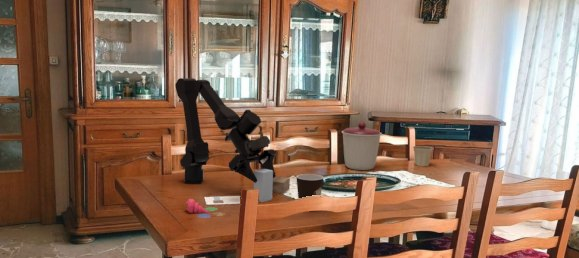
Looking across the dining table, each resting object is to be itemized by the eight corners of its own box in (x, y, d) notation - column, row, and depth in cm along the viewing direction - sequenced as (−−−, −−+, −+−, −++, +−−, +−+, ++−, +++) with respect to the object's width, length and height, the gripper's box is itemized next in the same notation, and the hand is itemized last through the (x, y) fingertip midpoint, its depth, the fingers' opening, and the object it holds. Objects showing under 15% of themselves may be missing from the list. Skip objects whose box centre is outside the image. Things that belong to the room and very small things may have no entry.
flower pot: (434, 167, 231) (435, 149, 230) (414, 167, 231) (415, 148, 230) (429, 163, 240) (430, 146, 239) (409, 163, 240) (410, 145, 239)
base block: (262, 191, 177) (262, 180, 176) (268, 186, 185) (269, 176, 184) (283, 193, 175) (283, 182, 174) (289, 188, 183) (289, 178, 182)
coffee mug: (303, 212, 153) (304, 181, 152) (290, 205, 161) (291, 175, 160) (335, 208, 159) (336, 178, 157) (321, 201, 166) (322, 172, 165)
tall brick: (253, 199, 166) (254, 170, 165) (263, 197, 170) (264, 168, 168) (262, 202, 163) (263, 172, 162) (272, 199, 167) (273, 170, 166)
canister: (351, 162, 237) (353, 118, 234) (386, 168, 226) (389, 122, 224) (332, 168, 222) (334, 121, 220) (368, 174, 212) (371, 125, 209)
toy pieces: (188, 220, 143) (188, 205, 142) (184, 209, 153) (184, 195, 153) (229, 218, 147) (230, 203, 146) (223, 207, 157) (223, 194, 157)
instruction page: (206, 205, 158) (206, 204, 158) (204, 197, 167) (204, 196, 167) (243, 203, 161) (243, 203, 161) (239, 196, 170) (239, 195, 169)
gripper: (235, 130, 159) (260, 169, 154) (272, 126, 174) (296, 161, 168) (218, 151, 165) (241, 189, 159) (255, 145, 179) (278, 180, 174)
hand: (265, 179), depth 165 cm, fingers open, 9 cm apart
